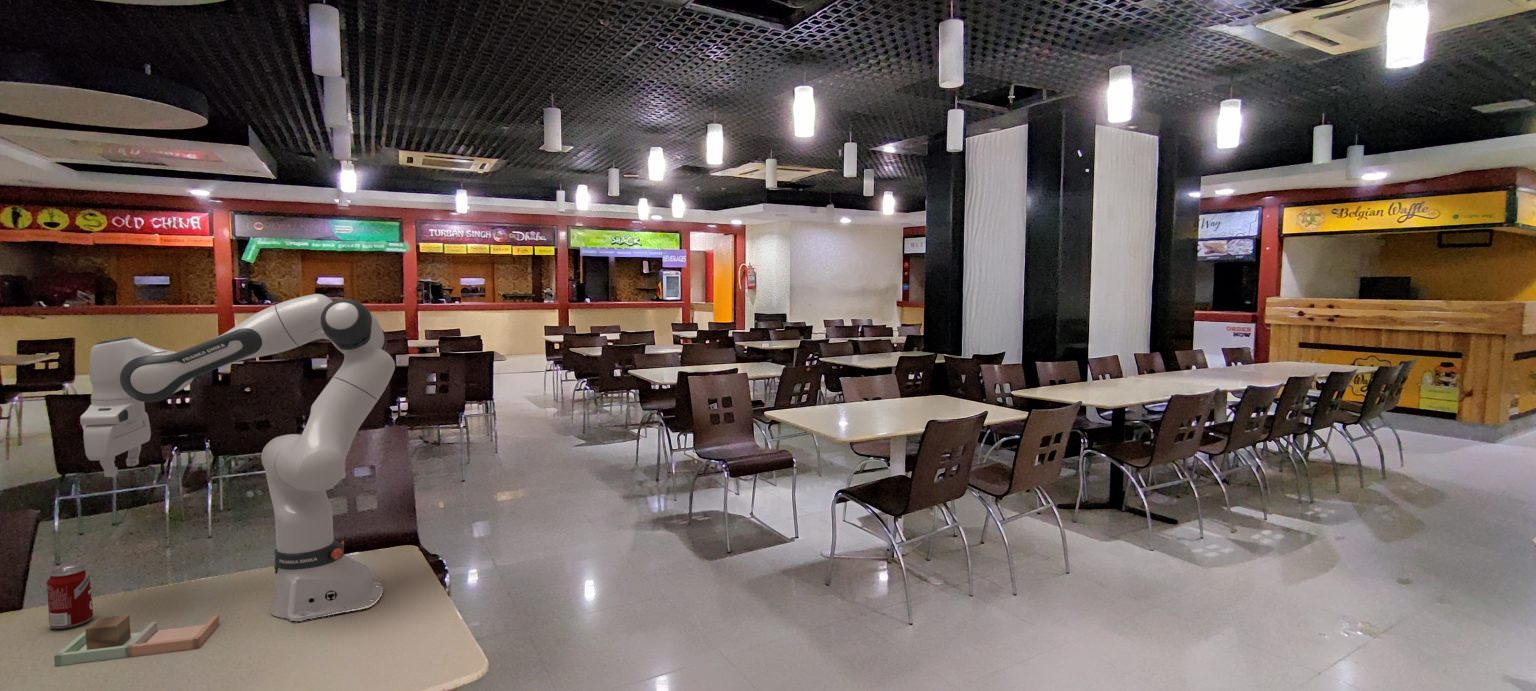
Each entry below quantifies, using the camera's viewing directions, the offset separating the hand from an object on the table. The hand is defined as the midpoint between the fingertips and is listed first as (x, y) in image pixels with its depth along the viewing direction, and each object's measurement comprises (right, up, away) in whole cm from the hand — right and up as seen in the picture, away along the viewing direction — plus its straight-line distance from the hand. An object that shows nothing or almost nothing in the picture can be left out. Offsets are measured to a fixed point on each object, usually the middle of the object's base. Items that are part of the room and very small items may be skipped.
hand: (122, 470), depth 163 cm
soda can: (-5, -32, -7) cm, 33 cm away
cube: (+12, -33, -16) cm, 38 cm away
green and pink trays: (+17, -33, -14) cm, 40 cm away
